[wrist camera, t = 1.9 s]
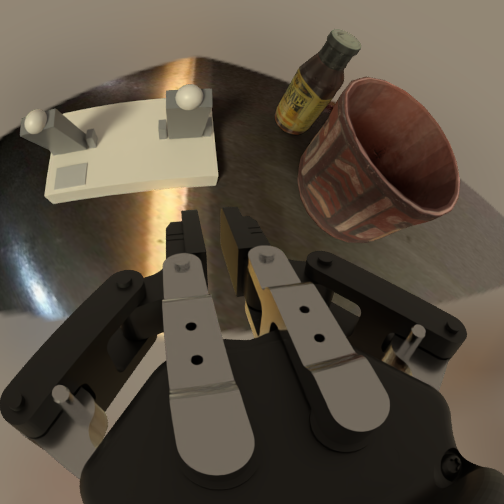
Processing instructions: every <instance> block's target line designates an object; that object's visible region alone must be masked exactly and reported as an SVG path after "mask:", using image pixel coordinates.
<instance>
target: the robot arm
mask: <svg viewBox="0 0 504 504" xmlns="http://www.w3.org/2000/svg"><path fill="white" fill-rule="evenodd" d="M181 213H182V221H181V222H171V223H170V224H169V225H168V227H167V228H166V260H165V261H164V263H163V269H162V270H161V271H159V272H158V273H156V274H154V275H151V276H149V277H145V278H143V276H142V275H141V274H140V273H139V272H137V271H134V270H124V271H120V272H117V273H115V274H113V275H112V276H111V277H109V278H108V279H107V280H106V281H105V282H104V283H103V284H102V285H101V286H100V287H99V288H98V289H97V290H96V291H95V292H94V293H93V294H92V295H91V296H90V297H89V298H88V299H87V300H85V301H84V302H83V303H82V304H81V305H80V306H79V307H78V308H77V309H76V310H75V311H74V312H73V314H72V315H71V316H70V317H69V318H68V319H67V320H66V321H65V322H64V323H63V324H62V325H61V326H60V327H59V328H58V329H57V330H56V331H55V332H54V333H53V334H52V335H51V337H50V338H49V339H48V340H47V341H46V342H45V343H44V344H43V345H42V346H41V347H40V349H39V350H38V351H37V352H36V353H35V354H34V355H33V357H32V358H31V359H30V360H29V361H28V362H27V363H26V364H25V366H24V367H23V368H22V369H21V370H20V371H19V373H18V374H17V375H16V376H15V377H14V379H13V380H12V381H11V382H10V384H9V385H8V386H7V387H6V389H5V390H4V391H3V393H2V395H1V398H0V411H1V414H2V416H3V418H4V419H5V420H6V421H7V422H8V423H10V424H11V425H12V426H13V427H15V428H16V429H17V430H18V431H20V433H21V434H22V435H23V436H25V437H26V438H27V439H29V440H30V441H32V442H33V443H34V444H36V445H37V446H39V447H40V448H42V449H43V450H45V451H46V452H47V453H48V454H49V455H51V456H52V457H53V458H54V459H55V460H56V461H57V462H58V463H60V464H61V465H62V466H63V467H64V468H66V469H67V470H68V471H69V472H71V473H72V474H73V475H74V476H76V477H77V478H78V479H80V493H81V497H82V501H83V503H84V504H504V475H503V474H502V473H500V472H499V471H497V470H495V469H492V468H487V467H481V466H478V465H475V464H473V463H471V462H469V461H467V460H466V459H465V458H463V457H462V455H461V454H460V453H459V451H458V449H457V447H456V444H455V440H454V436H453V432H452V424H451V414H450V410H449V406H448V404H447V402H446V400H445V399H444V397H443V396H442V395H441V393H440V392H439V389H440V386H441V383H442V380H443V377H444V374H445V370H446V367H447V364H448V361H449V360H450V359H451V358H452V356H453V355H454V354H455V353H456V351H457V350H458V349H459V347H460V346H461V345H462V343H463V342H464V341H465V339H466V337H467V332H466V329H465V327H464V325H463V324H462V323H461V321H460V320H458V319H457V318H456V317H454V316H452V315H450V314H448V313H447V312H445V311H443V310H441V309H439V308H437V307H436V306H434V305H432V304H430V303H428V302H426V301H424V300H422V299H421V298H419V297H417V296H415V295H413V294H411V293H409V292H407V291H405V290H403V289H401V288H400V287H398V286H396V285H394V284H392V283H390V282H388V281H386V280H384V279H382V278H380V277H378V276H376V275H374V274H372V273H370V272H368V271H366V270H364V269H362V268H360V267H358V266H356V265H354V264H352V263H350V262H348V261H346V260H344V259H342V258H340V257H338V256H336V255H334V254H332V253H329V252H325V251H315V252H312V253H310V254H309V255H308V256H307V260H306V262H304V261H294V260H289V259H287V257H286V256H285V254H284V253H283V252H282V251H281V250H280V249H278V248H276V247H272V246H271V245H270V243H269V242H268V240H267V238H266V237H265V235H264V233H263V231H262V230H261V228H260V226H259V225H258V223H257V221H256V220H254V219H253V218H251V217H250V216H244V217H242V215H241V213H240V211H239V209H238V207H225V208H221V217H220V239H221V248H222V252H223V255H224V259H225V262H226V265H227V268H228V271H229V274H230V278H231V281H232V284H233V287H234V290H235V293H236V296H237V297H240V296H244V297H245V299H246V302H245V311H246V314H247V317H248V320H249V323H250V326H251V329H252V332H253V335H254V339H252V340H230V339H223V338H222V334H221V331H220V327H219V323H218V319H217V315H216V311H215V307H214V303H213V299H212V296H211V294H208V281H207V259H206V249H205V244H204V240H203V235H202V230H201V226H200V221H199V216H198V211H197V210H186V211H181ZM334 292H335V293H337V294H339V295H341V296H343V297H345V298H346V299H348V300H350V301H352V302H354V303H355V304H357V305H358V306H359V307H360V309H361V316H360V317H358V316H356V315H354V314H352V313H350V312H349V311H347V310H345V309H343V308H342V307H340V306H338V305H336V304H334V303H333V302H331V301H332V298H333V295H334ZM162 332H164V338H165V349H166V361H165V362H164V363H162V364H161V365H160V366H159V367H158V368H157V369H156V370H155V371H154V372H153V373H152V375H151V376H150V377H149V379H148V380H147V381H146V383H145V384H144V385H143V387H142V388H141V389H140V391H139V392H138V393H137V395H136V396H135V397H134V399H133V400H132V401H131V403H130V404H129V405H128V407H127V408H126V410H125V411H124V412H123V413H122V415H121V416H120V417H119V419H118V420H117V421H116V423H115V424H114V425H113V427H112V428H111V430H110V431H109V432H108V434H107V435H106V436H105V433H106V431H107V428H108V419H107V416H106V414H105V411H106V410H107V408H108V407H109V405H110V404H111V402H112V401H113V400H114V398H115V397H116V395H117V394H118V392H119V391H120V389H121V388H122V387H123V385H124V383H126V381H127V380H128V378H129V377H130V376H131V374H132V373H133V371H134V370H135V368H136V367H137V366H138V364H139V363H140V361H141V360H142V359H143V357H144V356H145V355H146V353H147V352H148V350H149V349H150V348H151V346H152V345H153V344H154V342H155V341H156V338H157V334H160V333H162ZM104 436H105V438H104Z"/></svg>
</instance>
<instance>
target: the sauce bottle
mask: <svg viewBox="0 0 504 504" xmlns="http://www.w3.org/2000/svg"><path fill="white" fill-rule="evenodd" d="M360 49H361V44H360V42H359V41H358V40H357V39H356V38H355V37H354V36H353V35H351V34H349V33H348V32H346V31H343V30H339V29H334V30H333V31H331V32H330V34H329V35H328V37H327V41H326V43H325V45H324V46H323V48H322V49H321V50H320V51H319V52H318V53H317V54H316V55H314V56H313V57H312V58H310V59H309V60H308V61H306V62H305V63H304V64H303V65H302V66H300V67H299V69H298V71H297V73H296V74H295V76H294V78H293V79H292V81H291V83H290V85H289V87H288V89H287V90H286V92H285V94H284V96H283V98H282V100H281V101H280V103H279V105H278V107H277V110H276V114H275V121H276V123H277V124H278V126H279V127H280V128H281V129H282V130H283V131H284V132H286V133H290V134H294V135H298V134H302V133H304V132H305V131H307V130H308V129H309V128H310V127H311V125H312V124H313V123H314V122H315V120H316V119H317V118H318V116H319V115H320V114H321V112H322V111H323V110H324V109H325V107H326V106H327V105H328V104H329V102H330V101H331V100H332V99H333V97H334V96H335V94H336V92H337V91H338V90H339V89H340V87H341V86H342V84H343V82H344V68H346V66H347V63H348V62H349V61H350V60H351V58H352V57H353V56H354V55H357V53H358V52H359V50H360Z"/></svg>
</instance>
